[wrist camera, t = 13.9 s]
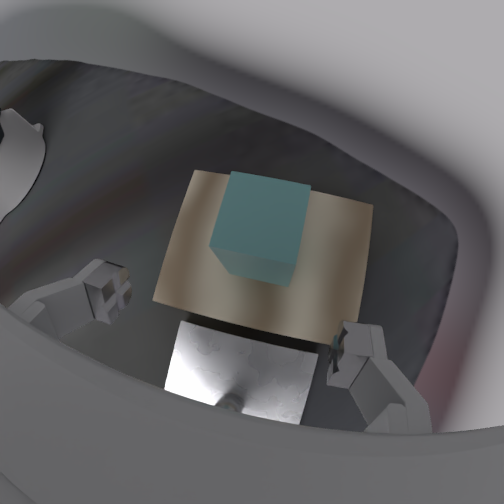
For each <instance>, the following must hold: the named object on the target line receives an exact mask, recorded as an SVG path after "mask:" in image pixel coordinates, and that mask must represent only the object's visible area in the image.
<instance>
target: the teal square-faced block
mask: <svg viewBox="0 0 504 504" xmlns="http://www.w3.org/2000/svg"><path fill="white" fill-rule="evenodd" d="M310 190H311V186H310V185H305V184H301V183H296V182H291V181H286V180H280V179H275V178H270V177H264V176H258V175H253V174H247V173H241V172H235V171H231V174H230V177H229V181H228V184H227V187H226V190H225V193H224V196H223V200H222V203H221V206H220V209H219V213H218V216H217V219H216V223H215V226H214V229H213V233H212V236H211V240H210V243H209V247H210V248H211V250H212V251H213V252H214V254H215V255H216V256H217V258H218V259H219V261H220V262H221V263H222V264H223V266H224V267H225V268H226V270H227V271H228V272H229V274H232V275H237V276H241V277H245V278H250V279H254V280H259V281H263V282H267V283H272V284H276V285H281V286H285V287H288V286H289V284H290V281H291V278H292V275H293V272H294V269H295V266H296V262H297V257H298V252H299V247H300V242H301V237H302V232H303V227H304V222H305V217H306V212H307V206H308V201H309V195H310Z"/></svg>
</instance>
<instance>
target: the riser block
mask: <svg viewBox="0 0 504 504" xmlns="http://www.w3.org/2000/svg"><path fill="white" fill-rule="evenodd" d="M229 177H230V175H226V174H219V173H213V172H206V171H199V170H195V171H194V174H193V176H192V179H191V182H190V184H189V187H188V190H187V192H186V195H185V198H184V201H183V204H182V207H181V209H180V212H179V215H178V218H177V221H176V224H175V227H174V230H173V233H172V236H171V239H170V243H169V246H168V249H167V252H166V255H165V259H164V262H163V265H162V269H161V272H160V275H159V279H158V282H157V286H156V289H155V293H154V297H153V301H156V302H159V303H162V304H166V305H169V306H172V307H176V308H179V309H182V310H186V311H189V312H193V313H196V314H200V315H203V316H207V317H211V318H214V319H218V320H222V321H226V322H230V323H234V324H237V325H241V326H246V327H250V328H254V329H258V330H262V331H266V332H271V333H275V334H280V335H284V336H289V337H293V338H298V339H303V340H308V341H313V342H318V343H323V344H328V345H330V344H331V341H332V339H333V336H335V335H336V334H337V327H338V325H339V323H340V321H341V320H348V321H353V322H357V320H358V315H359V309H360V304H361V298H362V292H363V286H364V280H365V273H366V267H367V259H368V252H369V243H370V235H371V225H372V214H373V205H371V204H367V203H363V202H359V201H355V200H351V199H347V198H343V197H338V196H334V195H330V194H325V193H321V192H316V191H312V190H310V195H309V201H308V206H307V212H306V217H305V222H304V227H303V232H302V237H301V242H300V247H299V252H298V257H297V262H296V266H295V269H294V272H293V275H292V278H291V281H290V284H289V286H288V287H285V286H281V285H276V284H272V283H267V282H263V281H259V280H254V279H250V278H245V277H241V276H237V275H232V274H229V272H228V271H227V270H226V268H225V267H224V266H223V264H222V263H221V262H220V261H219V259H218V258H217V256H216V255H215V254H214V252H213V251H212V250H211V248H210V247H209V243H210V240H211V236H212V233H213V229H214V226H215V223H216V219H217V216H218V213H219V209H220V206H221V203H222V200H223V196H224V193H225V190H226V187H227V184H228V181H229Z"/></svg>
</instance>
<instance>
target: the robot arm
mask: <svg viewBox="0 0 504 504" xmlns="http://www.w3.org/2000/svg"><path fill="white" fill-rule="evenodd" d="M43 129H44V127H43V125H41V124H40V123H37V124H35V125H31V124H30V123H29V122H27V121H26V120H25V119H24V118H23V117H22V116H20V115H19V114H18V113H17V112H16V111H14V110H13V109H7V110H4V111H1V108H0V222H1V221H2V219H3V218H4V216H5V215H6V214H8V213H9V212H10V211H12V210H13V209H14V208H15V207H16V206H17V205H18V204H19V203H20V202H21V201H22V199H23V198H24V197H25V196H26V194H27V193H28V191H29V190H30V188H31V186H32V185H33V183H34V181H35V179H36V177H37V175H38V173H39V171H40V168H41V166H42V163H43V159H44V155H45V142H44V140H43V137H42V135H43ZM129 277H130V276H129V271H128V269H127V268H126V267H123V266H120V265H117V264H114V263H111V262H108V261H104V260H101V259H94V260H93V261H92V262H90V263H89V264H88V265H87V266H86V267H85V268H84V269H82V270H81V271H80V272H79V273H78V274H77V275H76V276H74V277H73V278H67V279H64V280H61V281H58V282H54V283H51V284H48V285H45V286H42V287H39V288H36V289H33V290H30V291H27V292H25V293H24V294H22V295H21V296H20V297H19V298H18V299H17V300H16V301H15V302H14V303H13V304H12V305H11V306H10V307H8V308H6V307H5V306H3V305H2V304H0V504H504V426H497V427H490V428H483V429H476V430H468V431H458V432H445V433H432V426H431V419H430V413H429V407H428V404H427V402H426V401H425V400H424V399H423V397H422V396H421V395H420V394H419V393H418V392H417V390H416V389H415V388H414V386H413V385H412V384H411V383H410V382H409V380H408V379H407V378H406V377H405V376H404V375H403V373H402V372H401V371H400V370H399V369H398V367H397V366H396V365H395V364H394V363H393V362H392V360H388V358H387V352H386V346H385V340H384V334H383V329H382V327H381V326H379V325H372V324H364V323H359V322H353V321H348V320H341V321H340V323H339V325H338V327H337V334H336V335H335V336H333V339H332V341H331V344H330V348H329V353H328V361H329V363H330V366H329V368H328V370H327V385H330V386H335V387H341V388H347V389H349V391H350V393H351V395H352V397H353V399H354V401H355V402H356V404H357V406H358V408H359V410H360V412H361V413H362V415H363V417H364V419H365V421H366V423H367V424H368V427H367V428H366V429H365V430H364V431H363V432H354V431H343V430H334V429H325V428H318V427H311V426H304V425H298V424H292V423H286V422H281V421H276V420H271V419H266V418H261V417H257V416H252V415H248V414H244V413H240V412H236V411H232V410H228V409H224V408H221V407H217V406H214V405H210V404H207V403H203V402H200V401H197V400H194V399H191V398H188V397H185V396H182V395H179V394H176V393H173V392H170V391H167V390H164V389H162V388H159V387H156V386H154V385H151V384H149V383H146V382H144V381H141V380H139V379H136V378H134V377H131V376H129V375H127V374H124V373H122V372H120V371H118V370H115V369H113V368H111V367H109V366H107V365H104V364H102V363H100V362H98V361H96V360H94V359H92V358H90V357H88V356H86V355H84V354H82V353H80V352H78V351H76V350H74V349H73V348H71V347H69V346H67V345H65V344H63V343H62V342H61V341H60V339H59V338H61V337H63V336H65V335H67V334H69V333H71V332H72V331H74V330H76V329H78V328H80V327H82V326H84V325H86V324H88V323H89V322H91V321H93V320H94V319H96V320H99V321H101V322H104V323H107V324H109V325H111V324H112V323H113V322H114V321H115V319H116V318H117V317H118V316H119V310H120V309H123V308H125V307H126V306H127V305H128V303H129V301H130V298H131V294H132V289H131V285H130V283H129V282H128V281H127V280H128V278H129Z"/></svg>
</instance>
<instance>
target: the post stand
mask: <svg viewBox="0 0 504 504" xmlns="http://www.w3.org/2000/svg"><path fill="white" fill-rule="evenodd" d="M317 358H318V354H317V353H313V352H308V351H303V350H298V349H293V348H289V347H284V346H279V345H275V344H271V343H266V342H262V341H258V340H254V339H249V338H245V337H241V336H237V335H234V334H230V333H226V332H222V331H218V330H215V329H211V328H208V327H204V326H200V325H197V324H194V323H190V322H187V321H181V323H180V326H179V330H178V334H177V338H176V342H175V346H174V351H173V355H172V359H171V363H170V367H169V372H168V376H167V380H166V385H165V389H164V390H167V391H170V392H173V393H176V394H179V395H182V396H185V397H188V398H191V399H194V400H197V401H200V402H203V403H207V404H210V405H214V406H217V407H221V408H224V409H228V410H232V411H236V412H240V413H244V414H248V415H252V416H257V417H261V418H266V419H271V420H276V421H281V422H286V423H292V424H298V425H299V423H300V420H301V416H302V413H303V410H304V406H305V403H306V399H307V396H308V392H309V389H310V385H311V381H312V378H313V374H314V370H315V366H316V362H317Z"/></svg>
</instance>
